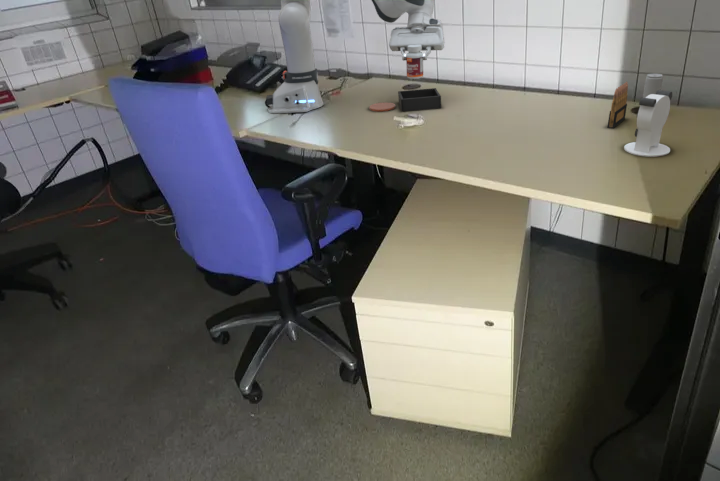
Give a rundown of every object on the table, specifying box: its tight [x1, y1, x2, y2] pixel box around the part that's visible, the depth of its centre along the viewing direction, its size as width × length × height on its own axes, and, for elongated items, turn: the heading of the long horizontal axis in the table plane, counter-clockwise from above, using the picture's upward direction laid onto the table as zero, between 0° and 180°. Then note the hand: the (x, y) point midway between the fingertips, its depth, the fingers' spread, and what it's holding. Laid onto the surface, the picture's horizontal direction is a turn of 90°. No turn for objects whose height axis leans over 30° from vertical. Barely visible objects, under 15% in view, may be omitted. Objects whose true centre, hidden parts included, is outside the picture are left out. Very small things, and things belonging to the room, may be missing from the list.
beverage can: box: [642, 73, 664, 98], centre depth 176 cm, size 5×5×12 cm
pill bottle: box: [405, 45, 424, 80], centre depth 201 cm, size 6×6×11 cm
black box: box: [397, 87, 442, 112], centre depth 207 cm, size 15×13×4 cm
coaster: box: [368, 101, 396, 113], centre depth 209 cm, size 10×10×1 cm
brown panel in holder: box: [607, 81, 629, 129], centre depth 169 cm, size 11×2×12 cm, turn 140°
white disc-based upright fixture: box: [623, 89, 673, 158], centre depth 147 cm, size 12×11×15 cm
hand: (414, 59), depth 200 cm, fingers closed on pill bottle, 6 cm apart
